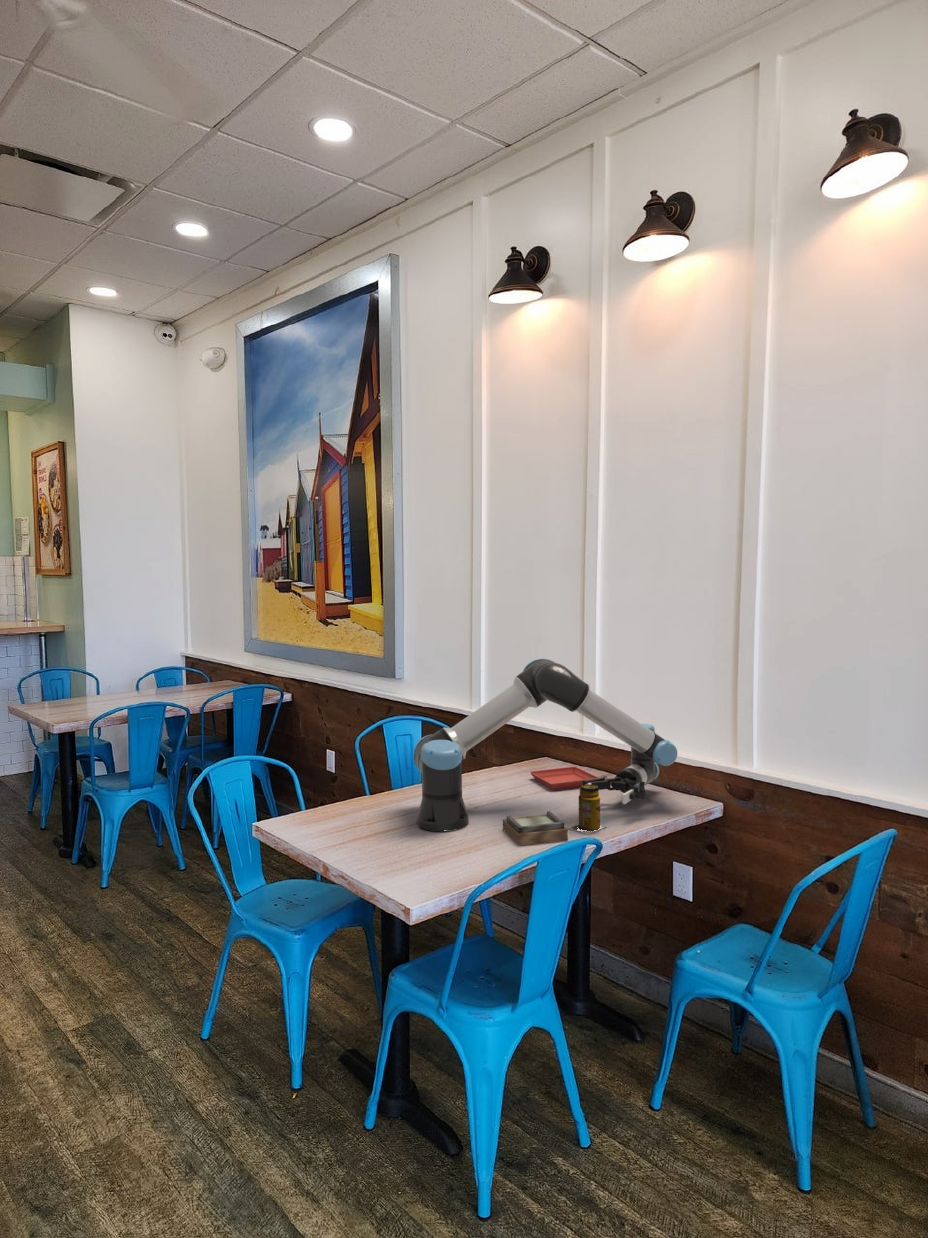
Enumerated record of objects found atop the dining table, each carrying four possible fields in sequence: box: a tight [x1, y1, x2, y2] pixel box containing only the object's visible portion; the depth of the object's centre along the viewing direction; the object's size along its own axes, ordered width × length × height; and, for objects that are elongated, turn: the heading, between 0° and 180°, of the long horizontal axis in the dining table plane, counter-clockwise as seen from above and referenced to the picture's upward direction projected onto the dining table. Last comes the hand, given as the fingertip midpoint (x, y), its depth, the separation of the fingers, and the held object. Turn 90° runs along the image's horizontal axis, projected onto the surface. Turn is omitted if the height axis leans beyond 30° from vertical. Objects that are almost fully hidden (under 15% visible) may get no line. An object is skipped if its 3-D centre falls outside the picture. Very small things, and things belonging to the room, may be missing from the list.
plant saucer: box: [529, 766, 599, 791], centre depth 276 cm, size 18×18×3 cm
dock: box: [502, 810, 569, 846], centre depth 223 cm, size 14×14×4 cm
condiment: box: [568, 784, 601, 835], centre depth 227 cm, size 7×8×12 cm
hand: (601, 796), depth 235 cm, fingers open, 13 cm apart
